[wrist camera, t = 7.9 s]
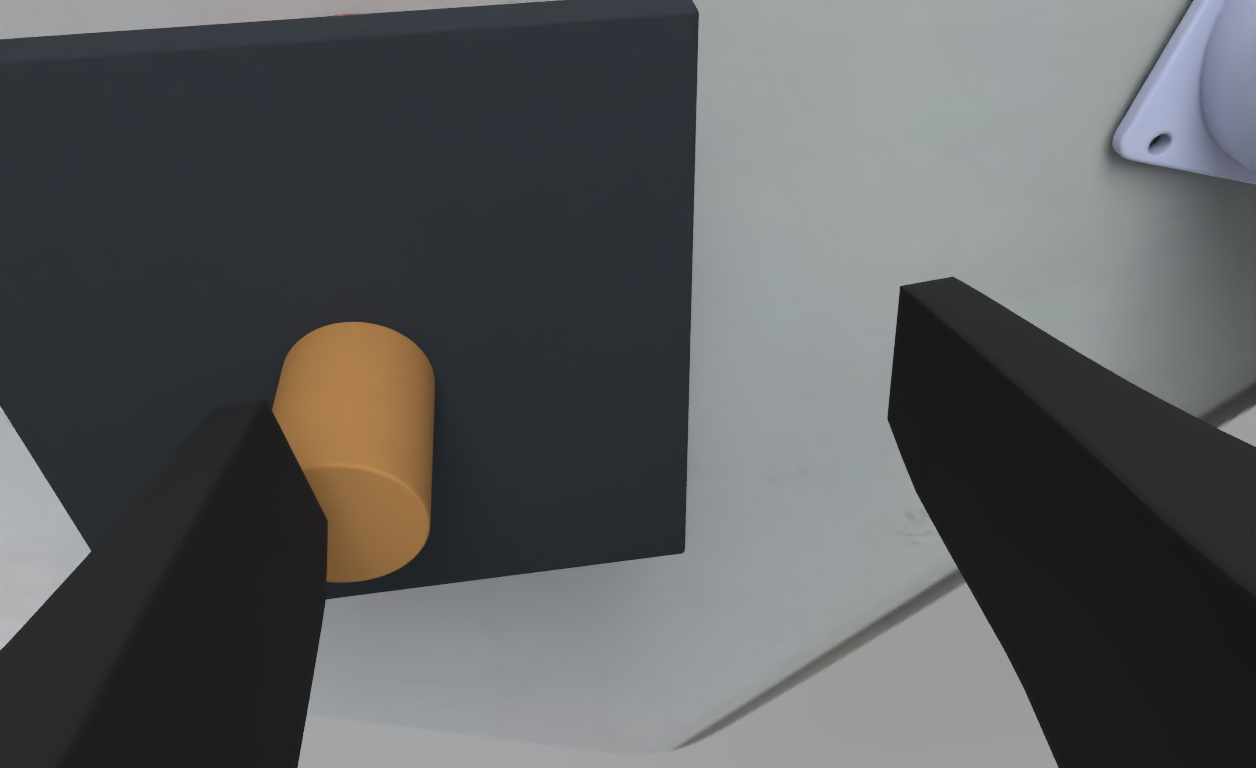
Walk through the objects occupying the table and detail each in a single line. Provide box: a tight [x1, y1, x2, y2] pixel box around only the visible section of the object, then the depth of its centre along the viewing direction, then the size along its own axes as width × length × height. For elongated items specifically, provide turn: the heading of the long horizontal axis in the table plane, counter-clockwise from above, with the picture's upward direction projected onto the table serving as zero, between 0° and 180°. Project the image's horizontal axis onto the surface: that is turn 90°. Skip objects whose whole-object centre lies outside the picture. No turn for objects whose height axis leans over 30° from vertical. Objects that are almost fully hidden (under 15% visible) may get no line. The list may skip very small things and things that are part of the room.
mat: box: [0, 0, 699, 599], centre depth 14 cm, size 11×11×4 cm
